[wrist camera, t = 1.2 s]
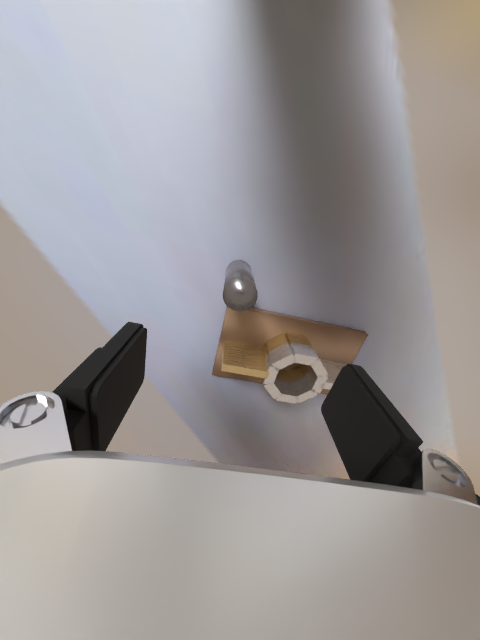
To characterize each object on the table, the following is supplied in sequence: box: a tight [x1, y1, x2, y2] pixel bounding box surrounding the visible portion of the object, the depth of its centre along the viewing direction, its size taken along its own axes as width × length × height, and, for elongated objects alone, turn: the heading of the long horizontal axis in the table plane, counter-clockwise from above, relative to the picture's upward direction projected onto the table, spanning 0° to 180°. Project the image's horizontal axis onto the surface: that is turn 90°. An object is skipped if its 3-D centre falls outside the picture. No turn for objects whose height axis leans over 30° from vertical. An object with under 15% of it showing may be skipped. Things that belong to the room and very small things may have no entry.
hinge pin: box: [223, 260, 257, 311], centre depth 23 cm, size 3×3×8 cm
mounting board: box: [212, 306, 368, 394], centre depth 31 cm, size 11×19×1 cm, turn 77°
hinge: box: [221, 332, 347, 404], centre depth 28 cm, size 7×18×5 cm, turn 77°
